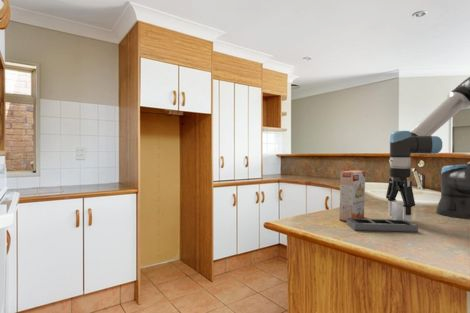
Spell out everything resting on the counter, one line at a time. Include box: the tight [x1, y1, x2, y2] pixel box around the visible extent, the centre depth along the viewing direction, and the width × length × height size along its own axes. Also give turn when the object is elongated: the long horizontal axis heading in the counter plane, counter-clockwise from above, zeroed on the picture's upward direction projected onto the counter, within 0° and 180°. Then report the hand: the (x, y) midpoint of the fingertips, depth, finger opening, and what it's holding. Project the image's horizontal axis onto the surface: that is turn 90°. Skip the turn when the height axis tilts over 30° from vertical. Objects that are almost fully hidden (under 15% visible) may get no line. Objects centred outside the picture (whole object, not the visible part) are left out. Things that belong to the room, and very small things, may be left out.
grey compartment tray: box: [346, 217, 419, 233], centre depth 103 cm, size 22×9×2 cm, turn 85°
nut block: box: [391, 200, 404, 219], centre depth 114 cm, size 4×4×8 cm
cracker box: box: [338, 170, 366, 222], centre depth 118 cm, size 14×6×21 cm, turn 136°
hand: (399, 219), depth 114 cm, fingers open, 11 cm apart
